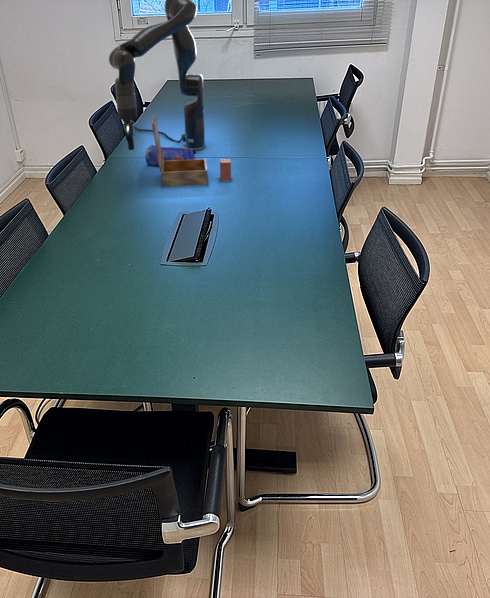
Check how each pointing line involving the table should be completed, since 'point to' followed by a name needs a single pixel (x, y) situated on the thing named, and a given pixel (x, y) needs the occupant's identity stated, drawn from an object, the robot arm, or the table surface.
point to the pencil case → (169, 154)
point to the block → (225, 169)
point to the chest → (184, 172)
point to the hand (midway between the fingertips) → (131, 149)
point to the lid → (157, 142)
